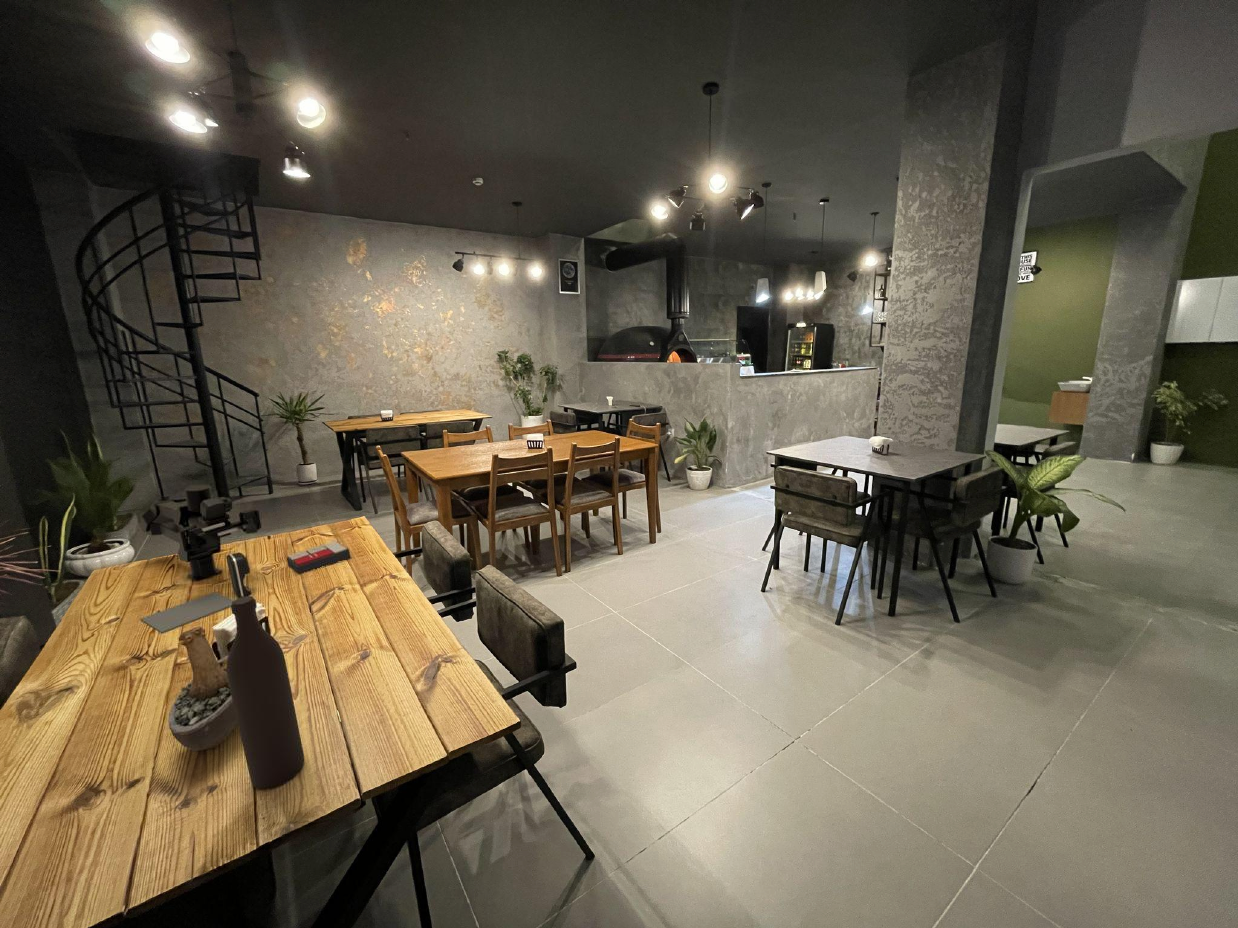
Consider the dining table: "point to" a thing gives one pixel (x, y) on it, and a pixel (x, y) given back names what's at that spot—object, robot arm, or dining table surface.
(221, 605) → the mat
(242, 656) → the wine bottle
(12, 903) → the dining table surface
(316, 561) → the grey and red box
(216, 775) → the dining table surface
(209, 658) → the planter
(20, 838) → the dining table surface
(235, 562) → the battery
